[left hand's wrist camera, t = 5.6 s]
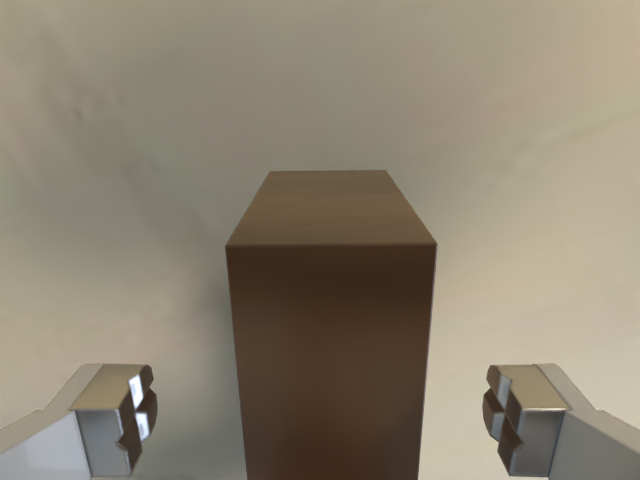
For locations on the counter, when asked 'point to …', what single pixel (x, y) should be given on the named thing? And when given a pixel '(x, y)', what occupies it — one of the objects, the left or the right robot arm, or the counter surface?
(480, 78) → the counter surface
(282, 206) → the bar
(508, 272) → the counter surface
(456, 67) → the counter surface
